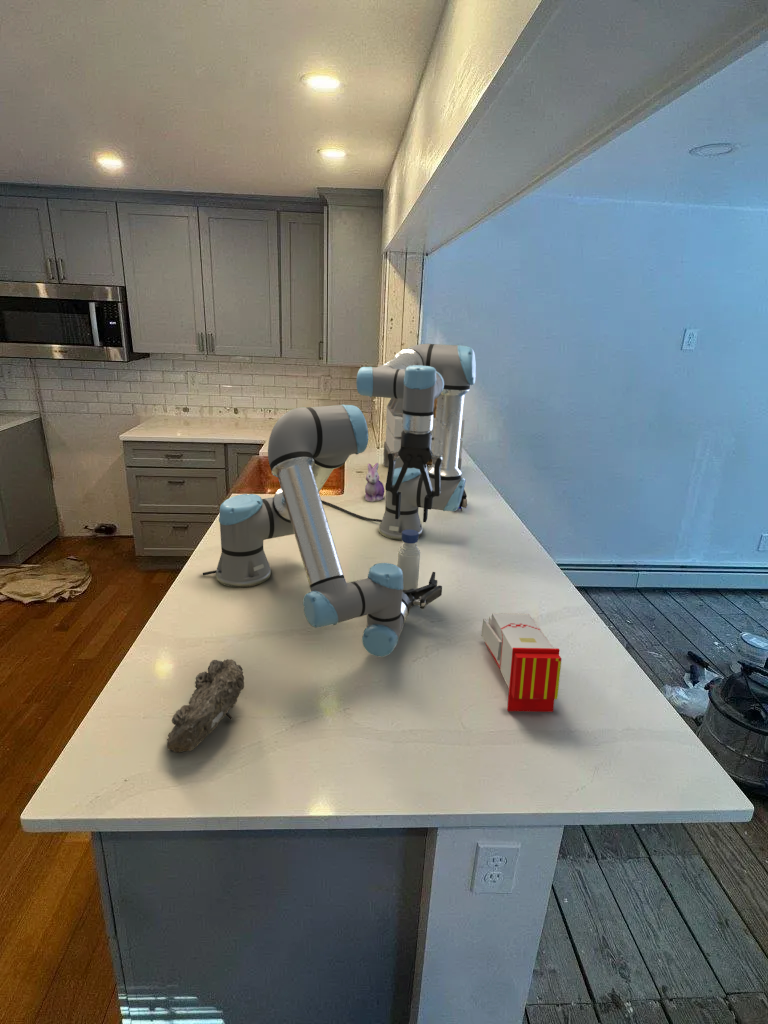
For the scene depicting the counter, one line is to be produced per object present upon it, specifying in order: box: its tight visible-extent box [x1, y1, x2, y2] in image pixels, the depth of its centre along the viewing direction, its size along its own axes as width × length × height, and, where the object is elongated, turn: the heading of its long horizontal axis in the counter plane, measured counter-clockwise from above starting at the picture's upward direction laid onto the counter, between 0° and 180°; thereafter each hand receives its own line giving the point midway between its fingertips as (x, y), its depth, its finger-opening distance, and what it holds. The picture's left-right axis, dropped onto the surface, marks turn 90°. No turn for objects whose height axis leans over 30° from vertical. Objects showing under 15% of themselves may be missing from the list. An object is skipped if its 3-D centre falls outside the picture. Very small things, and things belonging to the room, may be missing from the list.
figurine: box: [364, 462, 385, 502], centre depth 233 cm, size 9×10×15 cm
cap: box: [401, 529, 420, 544], centre depth 148 cm, size 4×4×2 cm
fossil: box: [166, 658, 245, 754], centre depth 106 cm, size 22×10×15 cm
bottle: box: [396, 542, 421, 590], centre depth 151 cm, size 6×6×20 cm
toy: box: [480, 612, 562, 713], centre depth 124 cm, size 12×13×30 cm
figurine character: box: [457, 489, 468, 512], centre depth 228 cm, size 7×8×15 cm
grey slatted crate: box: [383, 398, 465, 472], centre depth 268 cm, size 34×33×41 cm
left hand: (409, 572), depth 156 cm, fingers open, 12 cm apart
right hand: (411, 518), depth 147 cm, fingers open, 6 cm apart
